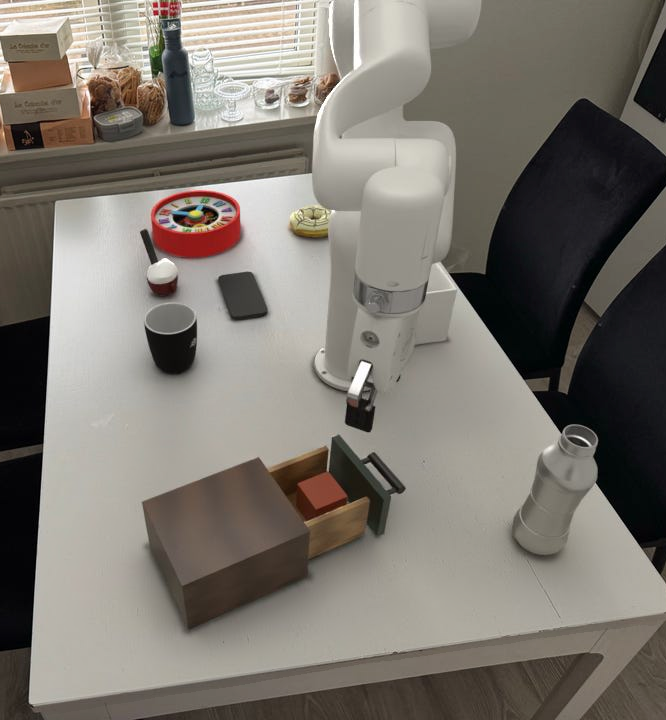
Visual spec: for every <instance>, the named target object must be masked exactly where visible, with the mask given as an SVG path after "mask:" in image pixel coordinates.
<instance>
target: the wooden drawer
mask: <svg viewBox="0 0 666 720" xmlns="http://www.w3.org/2000/svg"><path fill="white" fill-rule="evenodd" d="M329 451H330V452H329ZM329 453H330V454H329ZM367 464H371V465H372V466H373V468H375V469H376V471H377V472H378V473H379V474H380V475H381V477H382V478H383V479H384V480H385V481H386V483H387V484H388V485H389V486H390V487H391V488H388V489H386V488H385V487H384V486H383V485H382V484H381V482H380V481H379V480H378V479H377V477H376V476H375V475H374V474H373V473H372V471H371V470H370V469H369V467H367V466H366V465H367ZM266 468H267V469H268V471H269V472H270V474H271V475H272V477H273V478H274V480H275V481H276V482H277V484H278V485H279V487H280V488H281V490H282V491H283V493H284V494H285V495H286V497H287V498H288V500H289V501H290V503H291V504H292V506H293V507H294V509H295V510H296V511H297V513H298V514H299V516H300V517H301V519H302V520H303V522H304V523H305V524H306V526H307V527H308V529H309V530H310V541H309V555H308V560H310V559H313V558H315V557H317V556H319V555H321V554H324V553H326V552H328V551H331V550H333V549H335V548H338V547H340V546H342V545H345V544H347V543H349V542H351V541H353V540H357V539H358V538H360V537H362V536H365V534H366V529H367V526H368V527H369V528H370V530H371V531H372V532H373V533H374V535H375V536H376V537H380V536H382V535H384V534H385V531H386V527H387V522H388V516H389V512H390V506H391V501H392V495H394V494H397V495H402V494H403V493H405V491H406V490H407V487H406V486H405V484H403V482H402V481H401V480H400V479H399V478H398V477H397V475H396V474H395V473H394V472H393V470H391V469H390V467H388V465H387V464H386V463H385V462H384V461H383V459H381V457H380V456H379V455H378V454H377V453H376V452H375V451H372V452H370V453H368V455H367V457H365V458H362V459H360V457H359V456H358V454H356V452H354V450H353V449H352V448H351V447H350V445H349V444H348V443H347V442H346V441H345V440H344V438H343V437H342V436H341V435H340V434H336V435H333V436H331V442H330V449H329V448H328V446H327V445H323V446H320V447H319V448H315V449H314V450H311V451H309V452H308V451H307V452H305V453H303V454H299V455H298V456H295V457H293V458H290V459H288V460H285V461H283V462H280V463H277V464H275V465H273V466H271V467H266ZM327 471H328V472H329V473H330V474H331V475H332V477H333V478H334V479H335V481H336V482H337V483H338V484H339V486H340V487H341V488H342V490H343V491H344V492H345V493H346V495H347V496H348V499H347V501H349V503H347V505H345V506H343V507H340V508H338V509H336V510H333V511H331V512H328V513H326V514H324V515H321V516H319V517H317V518H314V519H312V520H309V521H307V520H306V519H305V518H304V516H303V515H302V513H301V512H300V510H299V509H298V508H297V506H296V499H297V483H300V482H302V481H305V480H307V479H310V478H312V477H315V476H317V475H320V474H322V473H325V472H327Z"/></svg>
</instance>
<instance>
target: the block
mask: <svg viewBox="0 0 666 720" xmlns="http://www.w3.org/2000/svg"><path fill="white" fill-rule="evenodd" d="M347 504H348V496H347V495H346V493H345V492H344V491H343V490H342V488H341V487H340V486H339V484H338V483H337V482H336V481H335V479H334V478H333V477H332V475H331V474H330V473H329V470H327V472H325V473H322V474H320V475H317V476H315V477H312V478H310V479H307V480H305V481H302V482H300V483H297V499H296V506H297V508H298V509H299V510H300V512H301V513H302V515H303V516H304V518H305V519H306V520H307V521H309V520H312V519H314V518H317V517H319V516H321V515H324V514H326V513H328V512H331V511H333V510H336V509H338V508H340V507H343V506H345V505H347Z"/></svg>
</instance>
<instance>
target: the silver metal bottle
mask: <svg viewBox="0 0 666 720" xmlns="http://www.w3.org/2000/svg"><path fill="white" fill-rule="evenodd" d="M598 442H599V438H598V436H597V434H596V433H595V432H594V431H593V430H592V429H590V428H589V427H587V426H584V425H581V424H569V425H567V426H565V427H564V428H563V430H562V433H561V435H560V436H559V438H558V440H557V442H555V443H552V444H550V445H548V446H547V447H545V448H544V449H543V450H542V451H541V452H540V453H539V455H538V457H537V461H536V467H535V473H534V479H533V482H532V485H531V488H530V492H529V494H528V495H527V497H526V499H525V501H524V502H523V504H522V505H520V507H519V508H518V510H517V511H516V513H515V514H514V516H513V519H512V533H513V536H514V538H515V539H516V541H517V542H518V544H519V545H520V546H521V547H522V548H523V549H524V550H526V551H528V552H530V553H532V554H535V555H539V556H550V555H553V554H557V553H558V552H559V551H561V549H562V548H563V547H564V546H565V545H566V544H567V543H568V539H569V536H570V535H569V534H570V528H571V524H572V520H573V517H574V515H575V512H576V510H577V509H578V507H579V505H580V504H581V502H582V501H583V500H584V498H585V496H586V495H587V494H588V493H589V491H591V489H592V488H593V487H594V485H595V484H596V482H597V480H598V470H599V469H598V464H597V463H596V460H595V457H594V455H595V453H596V449H597V446H598V444H599V443H598Z"/></svg>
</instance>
